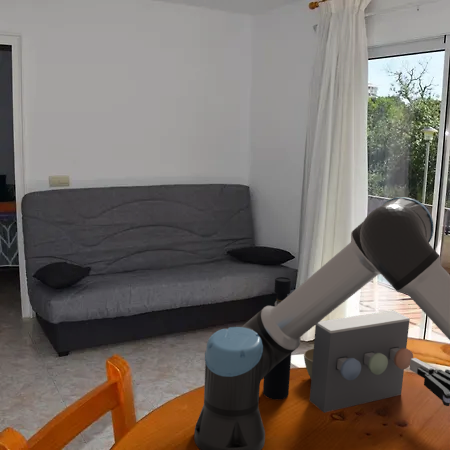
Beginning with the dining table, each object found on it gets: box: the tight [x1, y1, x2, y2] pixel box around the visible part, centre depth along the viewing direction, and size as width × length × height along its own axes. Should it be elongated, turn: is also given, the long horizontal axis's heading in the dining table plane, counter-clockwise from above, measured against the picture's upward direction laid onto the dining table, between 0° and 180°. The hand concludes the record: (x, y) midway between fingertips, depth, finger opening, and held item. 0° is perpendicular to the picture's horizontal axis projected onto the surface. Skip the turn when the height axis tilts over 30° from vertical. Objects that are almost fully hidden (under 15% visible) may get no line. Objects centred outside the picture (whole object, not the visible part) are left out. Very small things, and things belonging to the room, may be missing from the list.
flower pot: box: [303, 348, 314, 379], centre depth 150 cm, size 10×10×7 cm
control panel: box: [309, 310, 410, 414], centre depth 140 cm, size 6×24×21 cm, turn 116°
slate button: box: [337, 357, 361, 380], centre depth 132 cm, size 4×5×5 cm
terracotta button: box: [389, 347, 414, 370], centre depth 139 cm, size 4×5×5 cm
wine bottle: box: [262, 276, 292, 401], centre depth 140 cm, size 6×6×30 cm
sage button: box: [364, 352, 388, 375], centre depth 136 cm, size 4×5×5 cm
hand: (412, 363), depth 136 cm, fingers closed
